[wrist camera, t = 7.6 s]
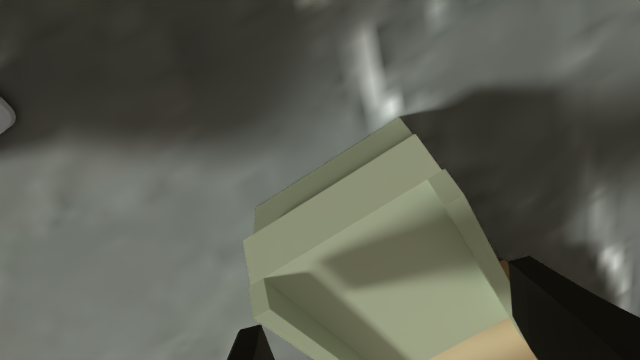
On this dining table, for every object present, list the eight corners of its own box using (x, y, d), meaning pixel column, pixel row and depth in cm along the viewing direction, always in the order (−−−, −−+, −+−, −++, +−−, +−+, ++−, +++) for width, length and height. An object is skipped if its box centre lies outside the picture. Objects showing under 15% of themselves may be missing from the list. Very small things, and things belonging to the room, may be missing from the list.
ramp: (245, 199, 20) (234, 299, 14) (394, 104, 18) (449, 169, 13) (374, 353, 24) (407, 477, 18) (501, 284, 23) (578, 393, 17)
